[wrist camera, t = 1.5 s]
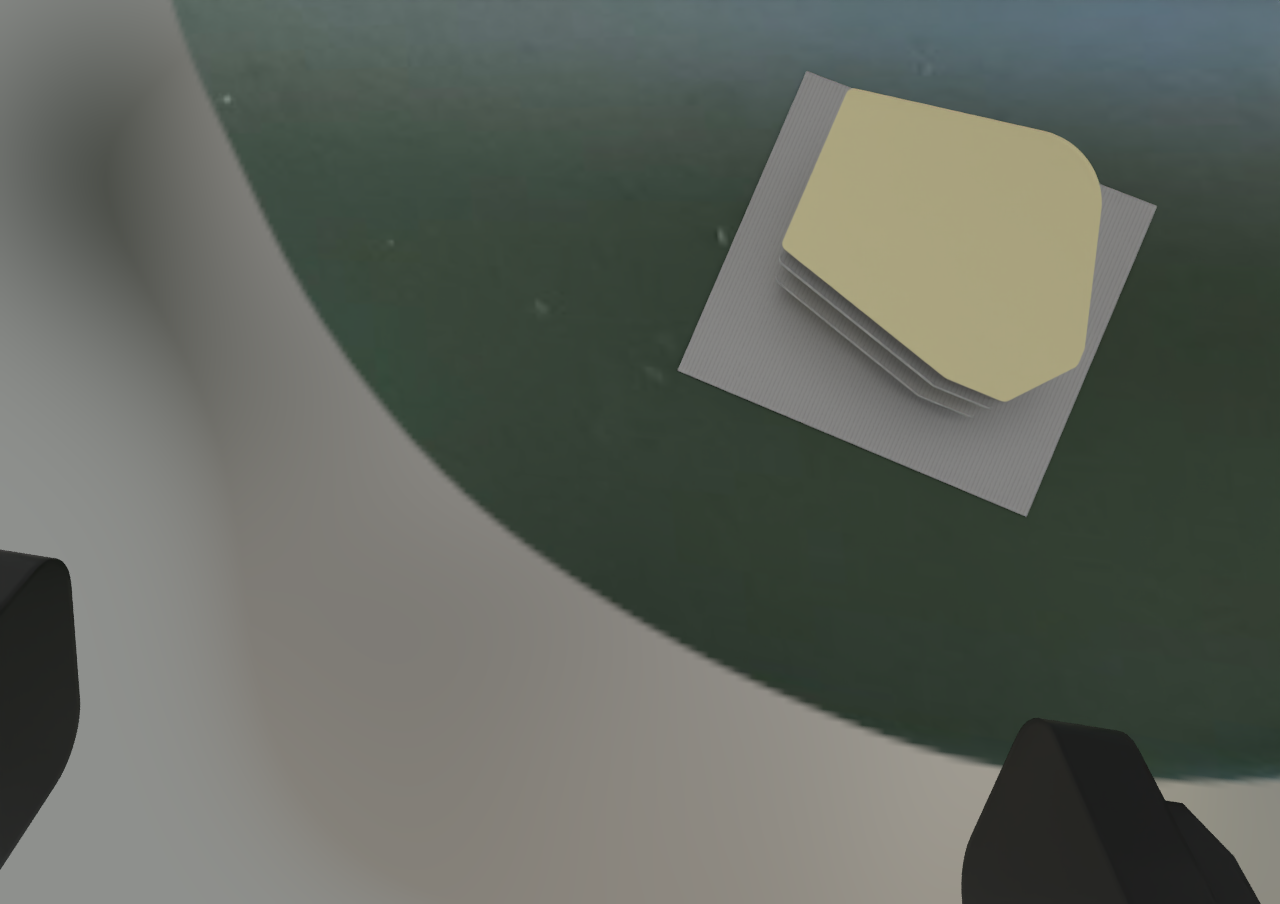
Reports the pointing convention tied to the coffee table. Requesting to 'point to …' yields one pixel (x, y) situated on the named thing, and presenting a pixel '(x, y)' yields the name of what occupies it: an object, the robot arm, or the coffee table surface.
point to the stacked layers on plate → (920, 286)
